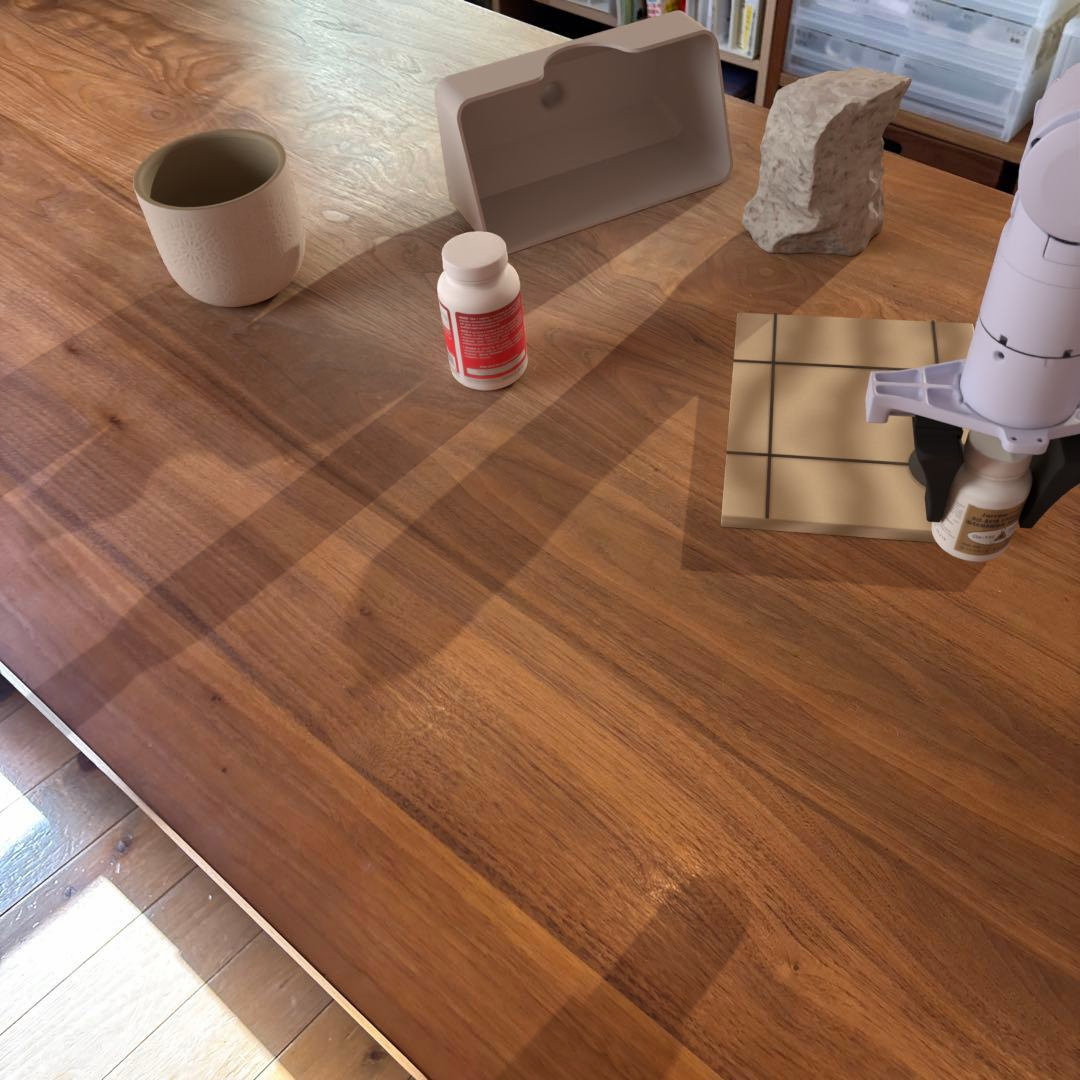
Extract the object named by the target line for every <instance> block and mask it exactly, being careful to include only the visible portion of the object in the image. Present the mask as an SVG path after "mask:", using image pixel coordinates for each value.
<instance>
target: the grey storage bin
mask: <svg viewBox="0 0 1080 1080" xmlns="http://www.w3.org/2000/svg"><path fill="white" fill-rule="evenodd" d="M725 95H726V94H725V86H724V79H723V69H722V63H721V54H720V46H719V42H718V38H717V36H716V35H715V34H714V33H713V32H712V31H711V30H709V29H708V28H706V26H703V25H702V24H701V23H699V22H698V21H697V20H695V19H693V18H692V16H690V15H688V14H687V13H685V12H684V11H682V10H673V11H672V10H671V11H669V12H666V13H661V14H658V15H655V16H652V17H648V18H645V19H641V20H638V21H635V22H630V23H628V24H624V25H621V26H616V27H614V28H610V29H606V30H603V31H599V32H596V33H593V34H590V35H585V36H582V37H578V38H575V39H571V40H567V41H564V42H561V43H557V44H554V45H551V46H547V47H543V48H540V49H537V50H533V51H529V52H526V53H523V54H518V55H516V56H513V57H509V58H505V59H502V60H501V59H500V60H498V61H495V62H491V63H487V64H485V65H481V66H477V67H474V68H470V69H467V70H463V71H460V72H456V73H453V74H450V75H446V76H444V77H443V78H442V79H441V80H439V82H438V83H437V85H436V87H435V89H434V96H433V97H434V102H435V110H436V117H437V123H438V130H439V138H440V145H441V151H442V159H443V164H444V172H445V179H446V185H447V193H448V199H449V201H450V202H451V204H452V205H453V206H454V207H455V208H456V209H457V210H458V212H459V213H460V215H461V216H463V218H464V220H465V221H466V222H467V224H468V225H469V226H470V227H471V229H472V230H473V232H475V231H482V232H489V233H493V234H495V235H498V236H499V237H501V238H502V239H503V241H504V242H505V244H506V250H507V255H511V254H513V253H516V252H519V251H522V250H526V249H528V248H531V247H534V246H538V245H540V244H543V243H546V242H549V241H553V240H556V239H559V238H562V237H564V236H565V237H566V236H568V235H571V234H573V233H578V232H579V231H583V230H585V229H588V228H591V227H594V226H597V225H600V224H603V223H607V222H610V221H613V220H615V219H618V218H621V217H624V216H627V215H631V214H633V213H636V212H637V213H638V212H640V211H643V210H646V209H648V208H649V209H650V208H653V207H655V206H657V205H660V204H661V205H662V204H664V203H667V202H669V201H673V200H675V199H679V198H681V197H684V196H689V195H690V194H694V193H697V192H699V191H703V190H705V189H709V188H711V187H715V186H717V185H721V184H723V183H725V182H726V181H727V180H728V179H729V178H730V176H731V174H732V172H733V167H734V161H733V159H734V158H733V151H732V144H731V134H730V127H729V119H728V111H727V103H726V96H725Z"/></svg>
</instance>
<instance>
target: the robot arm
mask: <svg viewBox="0 0 1080 1080" xmlns="http://www.w3.org/2000/svg"><path fill="white" fill-rule="evenodd" d="M992 262H993V263H992V266H991V269H990V273H989V277H988V279H987V284H986V287H985V290H984V294H983V298H982V300H981V303H980V304H981V305H980V308H979V312H978V314H977V315H978V316H977V319H976V322H975V326H974V334H973V337H972V341H971V344H970V348H969V351H968V355H967V358H966V359H961V360H955V361H950V362H945V363H939V364H934V365H929V366H923V367H918V368H912V369H907V370H900V371H871V373H870V378H869V383H868V388H867V392H866V397H865V402H866V421H867V422H868V423H886V422H887V421H888V417H889V416H906V417H912V425H913V436H914V446H915V451H916V455H917V458H918V461H919V463H920V465H921V467H922V469H923V472H924V475H925V478H926V491H925V508H926V518H927V521H928V522H938V523H940V521H941V519H942V517H943V515H944V511H945V506H946V502H947V497H948V493H949V489H950V487H951V484H952V482H953V480H954V478H955V476H956V474H957V472H958V470H959V468H960V467H961V466H962V464H963V463H964V455H963V447H962V436H963V429H962V428H965V429H969V430H972V431H976V432H979V433H983V434H986V435H990V436H993V437H997V438H999V439H1000V440H1001V444H1002V447H1003V449H1004V450H1006V451H1007V452H1010V453H1016V454H1033V457H1032V460H1031V463H1030V465H1029V468H1030V471H1031V474H1032V486H1031V490H1030V493H1029V495H1028V498H1027V500H1026V503H1025V506H1024V508H1023V511H1022V513H1021V515H1020V518H1019V521H1018V525H1019V529H1030V530H1031V529H1032V528H1034V526H1036V524H1037V523H1038V522H1039V521H1040V520H1041V518H1042V517H1043V516H1044V515H1045V514H1046V513H1047V512H1048V511H1049V510H1050V508H1052V506H1054V505H1055V504H1056V503H1057V502H1058V501H1059V500H1060V499H1061V498H1063V496H1065V495H1066V494H1067V493H1068V492H1070V491H1071V490H1073V489H1074V488H1076V487H1077V486H1078V485H1080V61H1079V62H1077V63H1075V64H1073V65H1072V66H1070V67H1069V68H1067V69H1066V70H1065V71H1064V74H1063V75H1062V76H1061V77H1056V78H1055V79H1054V80H1053V81H1052V83H1051V84H1050V85H1049V86H1048V88H1047V89H1046V90H1045V93H1044V94H1043V96H1042V98H1039V99H1038V100H1037V101H1036V103H1035V106H1034V112H1033V124H1032V126H1031V129H1030V132H1029V135H1028V139H1027V142H1026V144H1025V148H1024V151H1023V154H1022V157H1021V159H1020V163H1019V169H1018V178H1017V190H1016V191H1015V194H1014V196H1013V200H1012V204H1011V207H1010V217H1009V218H1008V220H1007V221H1006V223H1005V224H1004V226H1003V229H1002V231H1001V234H1000V238H999V240H998V245H997V249H996V252H995V256H994V259H993V261H992Z"/></svg>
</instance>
